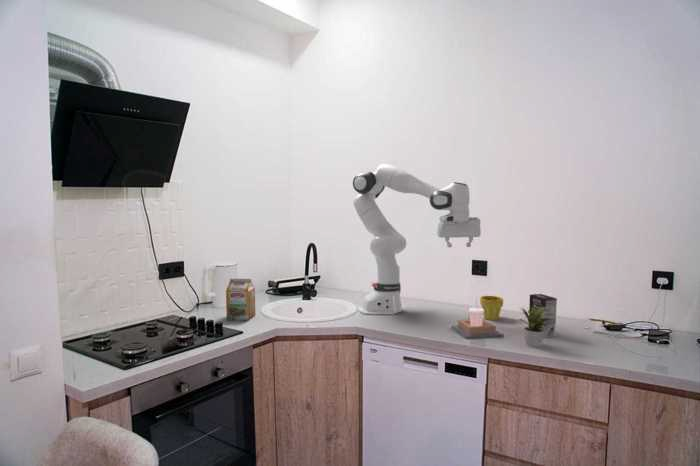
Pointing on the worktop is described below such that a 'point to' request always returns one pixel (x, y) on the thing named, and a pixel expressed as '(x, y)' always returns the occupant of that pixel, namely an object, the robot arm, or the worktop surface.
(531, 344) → the house plant
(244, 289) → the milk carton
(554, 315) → the coffee box
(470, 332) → the cup holder
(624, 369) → the worktop surface
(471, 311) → the beverage cup
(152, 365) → the worktop surface
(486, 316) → the plant pot
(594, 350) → the worktop surface
